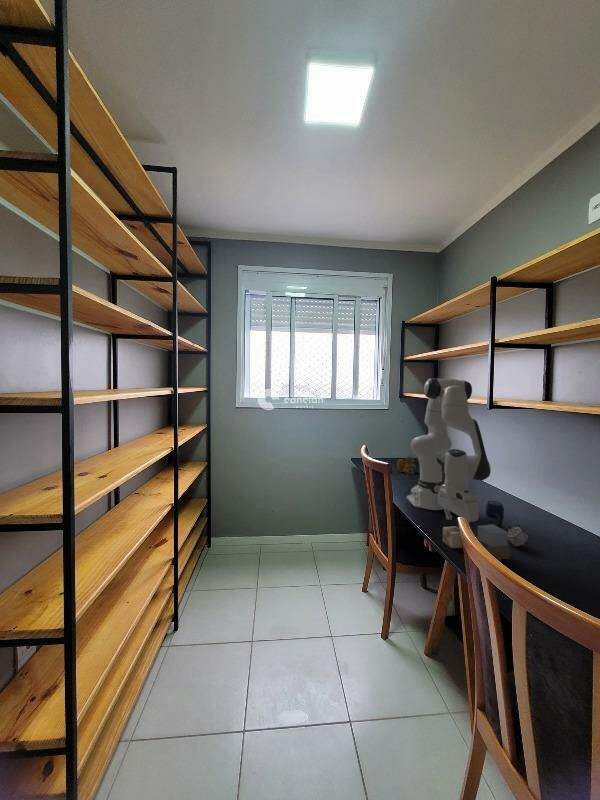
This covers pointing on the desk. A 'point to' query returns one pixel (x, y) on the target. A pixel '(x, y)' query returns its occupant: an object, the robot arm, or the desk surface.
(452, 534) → the maple block
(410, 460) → the stuffed squirrel
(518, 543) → the game die
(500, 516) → the soda can
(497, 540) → the slate block
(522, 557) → the desk surface
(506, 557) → the walnut plinth
